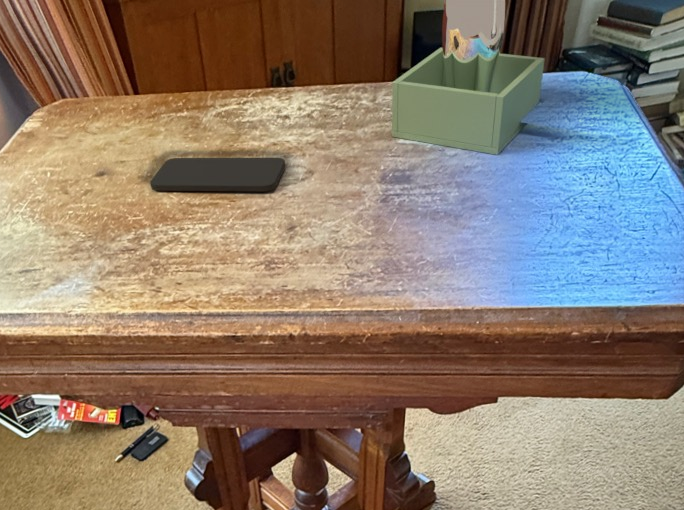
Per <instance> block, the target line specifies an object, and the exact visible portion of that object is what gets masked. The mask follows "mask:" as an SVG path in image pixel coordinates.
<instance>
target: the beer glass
mask: <svg viewBox="0 0 684 510" xmlns="http://www.w3.org/2000/svg"><path fill="white" fill-rule="evenodd" d="M505 20H506V0H444V5H443V11H442V24H441V43H442V44H441V48H442V49H443V58H444V66H445V74H446V87H450V88H457V89H465V90H473V91H480V92H488V93H491V86H492V81H493V76H494V72H495V69H496V65H497V61H498V57H499V54H501V48H502V44H503V40H504V31H505Z"/></svg>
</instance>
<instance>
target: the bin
mask: <svg viewBox="0 0 684 510" xmlns="http://www.w3.org/2000/svg"><path fill="white" fill-rule="evenodd" d="M545 60H546V59H545V57H537V56H529V55H518V54H509V53H500V54H499V57H498V61H497V65H496V69H495V72H494V76H493V81H492V86H491V93H488V92H480V91H473V90H465V89H457V88H450V87H446V74H445V66H444V58H443V49H442V47H439V48H438V49H436V50H435V51H433V52H432V53H431V54H430V55H428V56H427V57H425V58H424V59H422V60H421V61H420V62H418V63H417V64H416V65H414V66H413V67H411V68H410V69H409V70H407V71H406V72H405V73H403V74H402V75H400V76H399V77H397V78H396V79H394V80H393V81H392V82H391V123H392V124H391V137H393V138H398V139H404V140H410V141H416V142H421V143H426V144H433V145H438V146H444V147H450V148H455V149H461V150H468V151H473V152H479V153H484V154H489V155H496V156H498V155H499V154H500V153H501V152H503V150H504V149H505V148H506V147H507V146H508V145H509V144H510V143H511V141H512V140H513V139H514V138H515V137H516V136H517V135H518V134H520V132H521V131H522V129H524V127H526V125H527V124H528V122H521V121H522V120H523V119H524V118H525V117H527V115H528V114H529V113H530V112H531V111H532V110H533V109H534V108H535V107H536V106H537V105H538V103H540V99H541V89H542V82H543V75H544V68H545V67H544V66H545Z"/></svg>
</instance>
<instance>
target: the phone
mask: <svg viewBox="0 0 684 510" xmlns="http://www.w3.org/2000/svg"><path fill="white" fill-rule="evenodd" d="M285 168H286V161H285V159H284V158H282V157H173V158H169V159H166V160H165V161H164V162H163V164H162V165H161V166H160V168H159V169H158V170H157V172H156V173H155V174H154V176H153V177H152V179H150V182H149V183H150V184H149V185H150V188H151V189H152V191H161V192H166V191H167V192H270V191H272V190H274V189H275V188H276V187H277V186H278V184H279V181H280V179H281V178H282V175H283V173H284V170H285Z"/></svg>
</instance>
